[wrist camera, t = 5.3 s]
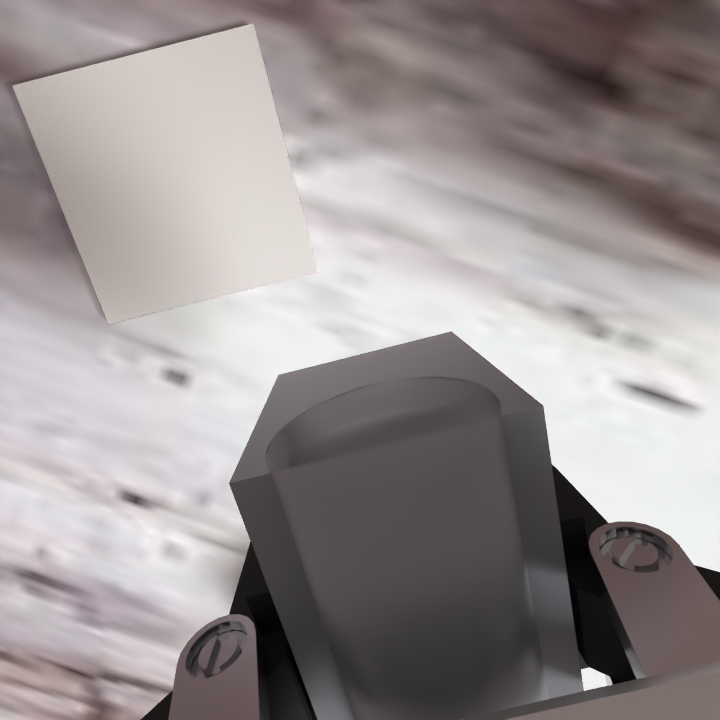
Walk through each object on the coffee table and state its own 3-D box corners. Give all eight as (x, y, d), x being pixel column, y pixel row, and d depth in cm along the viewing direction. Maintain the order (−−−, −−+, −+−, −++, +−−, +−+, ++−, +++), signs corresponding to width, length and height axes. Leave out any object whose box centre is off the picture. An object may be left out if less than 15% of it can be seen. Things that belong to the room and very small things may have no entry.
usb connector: (451, 331, 11) (583, 437, 5) (512, 647, 13) (644, 954, 8) (278, 374, 11) (207, 529, 5) (374, 679, 14) (400, 1008, 8)
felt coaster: (255, 29, 21) (253, 23, 21) (318, 271, 25) (317, 272, 24) (20, 89, 22) (12, 85, 21) (113, 322, 25) (108, 323, 24)
